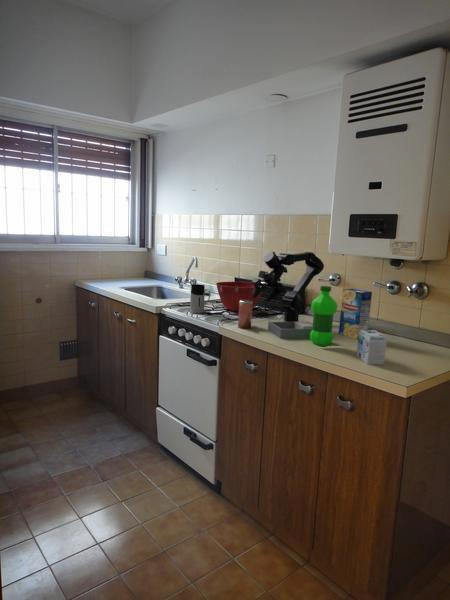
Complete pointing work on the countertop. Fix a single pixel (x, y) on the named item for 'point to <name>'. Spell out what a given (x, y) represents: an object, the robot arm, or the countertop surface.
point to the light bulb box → (371, 347)
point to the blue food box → (354, 312)
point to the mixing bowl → (236, 294)
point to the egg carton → (303, 325)
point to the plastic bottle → (323, 317)
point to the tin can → (245, 314)
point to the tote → (288, 330)
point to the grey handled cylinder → (197, 298)
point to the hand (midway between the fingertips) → (260, 299)
